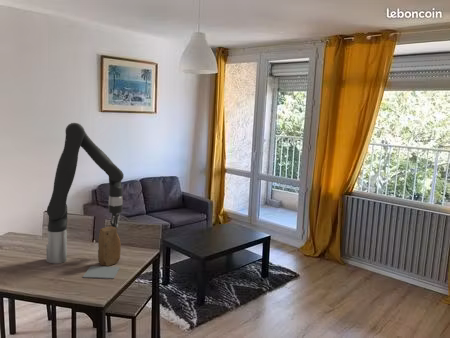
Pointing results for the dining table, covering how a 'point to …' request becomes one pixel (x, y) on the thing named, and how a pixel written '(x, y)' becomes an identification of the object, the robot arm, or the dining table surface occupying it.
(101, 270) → the mat
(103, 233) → the brown rounded piece
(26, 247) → the dining table surface
